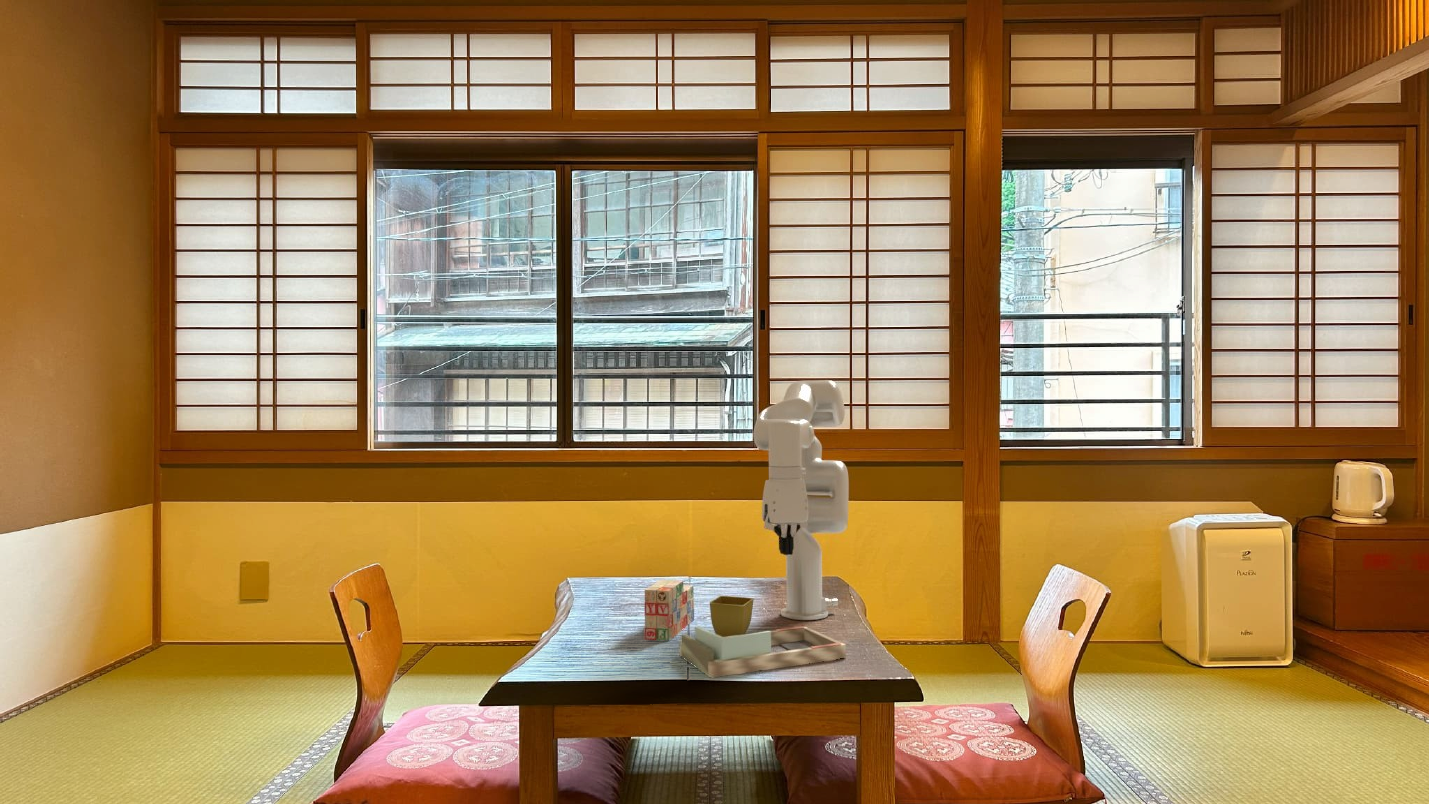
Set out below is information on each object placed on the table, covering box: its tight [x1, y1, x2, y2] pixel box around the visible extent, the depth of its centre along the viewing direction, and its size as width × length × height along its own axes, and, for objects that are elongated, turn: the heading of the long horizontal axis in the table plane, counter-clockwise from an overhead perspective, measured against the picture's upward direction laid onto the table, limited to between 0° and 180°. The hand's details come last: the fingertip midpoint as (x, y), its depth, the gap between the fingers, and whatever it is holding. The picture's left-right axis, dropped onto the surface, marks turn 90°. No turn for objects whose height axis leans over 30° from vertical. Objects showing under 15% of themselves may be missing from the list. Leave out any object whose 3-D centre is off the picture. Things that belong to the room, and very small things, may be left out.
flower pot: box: [709, 595, 754, 637], centre depth 200 cm, size 9×9×9 cm
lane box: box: [679, 626, 847, 678], centre depth 183 cm, size 32×17×5 cm, turn 114°
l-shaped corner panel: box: [694, 626, 772, 660], centre depth 178 cm, size 12×12×8 cm
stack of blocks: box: [644, 579, 695, 641], centre depth 209 cm, size 21×6×12 cm, turn 165°
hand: (786, 553), depth 190 cm, fingers closed
